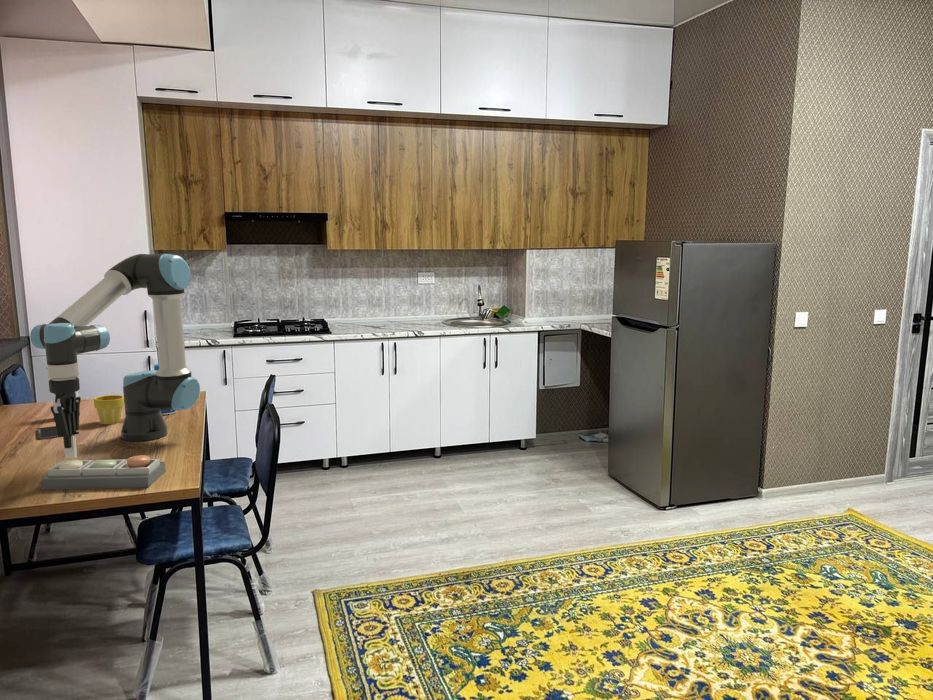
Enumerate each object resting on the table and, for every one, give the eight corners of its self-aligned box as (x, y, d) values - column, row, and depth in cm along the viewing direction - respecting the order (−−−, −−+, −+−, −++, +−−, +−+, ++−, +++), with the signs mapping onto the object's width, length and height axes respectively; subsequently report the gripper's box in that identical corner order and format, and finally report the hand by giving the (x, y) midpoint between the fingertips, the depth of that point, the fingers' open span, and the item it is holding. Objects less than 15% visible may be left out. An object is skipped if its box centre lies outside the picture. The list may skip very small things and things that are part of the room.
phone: (37, 437, 244) (37, 428, 256) (37, 441, 244) (37, 431, 257) (63, 434, 248) (61, 425, 261) (63, 437, 248) (61, 428, 261)
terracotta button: (132, 461, 206) (131, 455, 206) (153, 460, 207) (152, 455, 206) (123, 467, 200) (123, 461, 200) (145, 467, 201) (145, 461, 200)
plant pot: (130, 418, 274) (128, 394, 272) (118, 425, 263) (116, 400, 262) (103, 418, 273) (101, 394, 272) (90, 425, 263) (88, 400, 262)
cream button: (65, 466, 205) (65, 460, 205) (86, 465, 205) (86, 460, 205) (55, 472, 199) (54, 466, 199) (77, 472, 199) (76, 466, 199)
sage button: (99, 465, 206) (98, 459, 205) (120, 465, 206) (119, 459, 206) (89, 472, 200) (89, 466, 199) (111, 471, 200) (111, 465, 200)
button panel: (66, 473, 209) (64, 457, 208) (165, 471, 211) (164, 456, 211) (41, 489, 195) (40, 473, 195) (148, 487, 198) (147, 471, 197)
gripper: (61, 373, 204) (68, 450, 208) (37, 382, 191) (46, 465, 195) (87, 373, 205) (94, 450, 209) (66, 382, 192) (74, 464, 196)
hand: (71, 457), depth 202 cm, fingers closed
